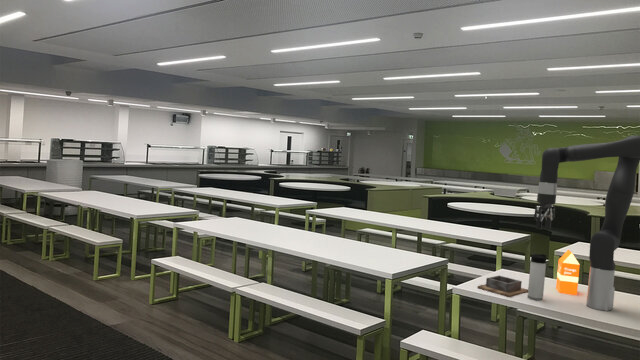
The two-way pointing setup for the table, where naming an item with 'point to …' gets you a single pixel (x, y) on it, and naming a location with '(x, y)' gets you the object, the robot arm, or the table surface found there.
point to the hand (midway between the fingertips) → (543, 228)
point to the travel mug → (537, 277)
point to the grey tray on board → (503, 286)
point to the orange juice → (567, 274)
